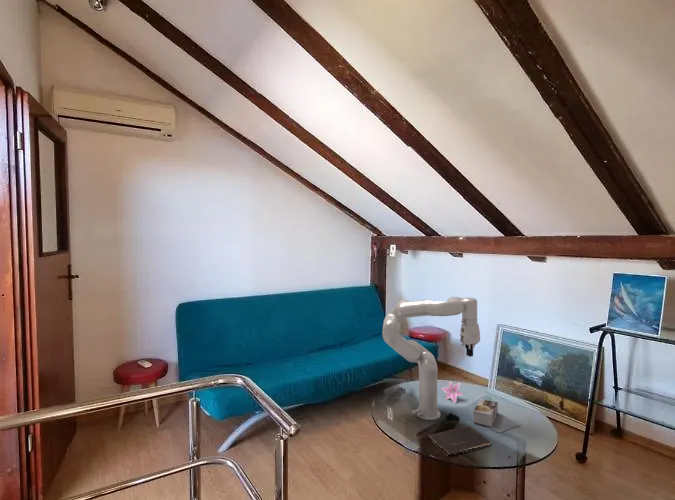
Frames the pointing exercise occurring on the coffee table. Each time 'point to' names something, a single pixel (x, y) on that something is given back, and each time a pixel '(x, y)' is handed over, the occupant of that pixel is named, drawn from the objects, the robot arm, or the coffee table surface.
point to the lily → (452, 391)
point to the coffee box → (485, 412)
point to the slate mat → (503, 424)
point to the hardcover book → (459, 439)
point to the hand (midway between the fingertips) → (469, 355)
